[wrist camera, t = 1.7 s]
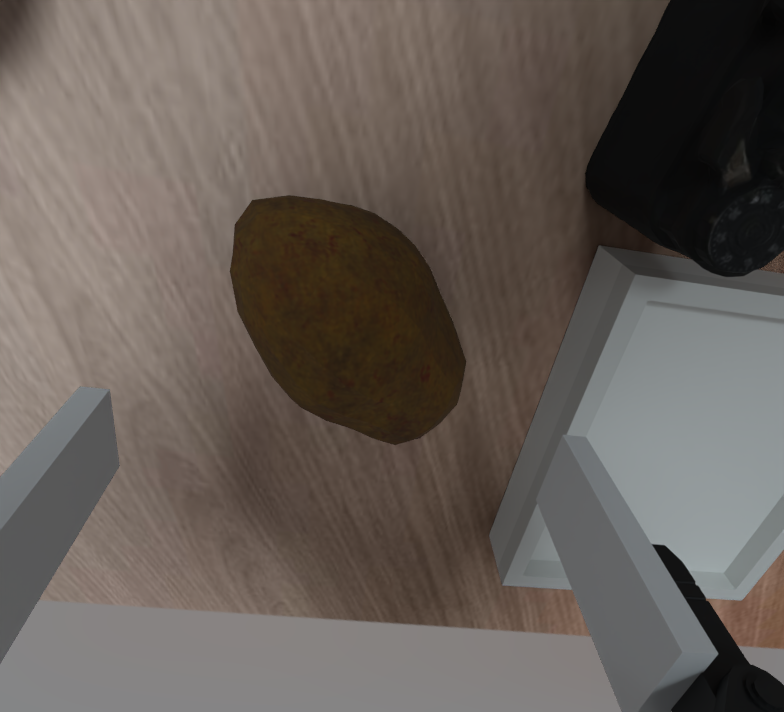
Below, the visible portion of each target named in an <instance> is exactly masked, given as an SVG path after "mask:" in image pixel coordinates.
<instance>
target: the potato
mask: <svg viewBox="0 0 784 712" xmlns="http://www.w3.org/2000/svg"><path fill="white" fill-rule="evenodd" d="M230 274H231V279H232V284H233V289H234V295H235V300H236V305H237V310H238V313H239V315H240V317H241V319H242V321H243V323H244V325H245V327H246V329H247V331H248V333H249V335H250V337H251V339H252V341H253V343H254V345H255V347H256V349H257V351H258V353H259V354H260V356H261V358H262V360H263V361H264V363H265V365H266V367H267V369H268V370H269V372H270V374H271V376H272V377H273V378H274V379H275V381H276V382H277V383H278V384H279V385H280V386H281V388H282V389H283V390H284V391H285V392H286V393H287V394H288V396H289V397H290V398H291V399H292V400H293V401H294V402H295V403H297V404H298V405H299V406H300V407H301V408H303V409H305V410H307V411H309V412H311V413H313V414H315V415H317V416H318V417H320V418H322V419H324V420H326V421H329V422H332V423H336V424H339V425H342V426H345V427H348V428H351V429H354V430H356V431H358V432H361V433H363V434H365V435H367V436H369V437H371V438H374V439H377V440H380V441H384V442H387V443H390V444H394V445H397V444H400V443H404V442H407V441H411V440H414V439H418V438H420V437H422V436H423V435H425V434H426V433H427V432H429V431H430V430H431V429H433V428H434V427H435V426H437V425H438V424H439V423H441V421H442V420H443V419H444V418H445V417H446V416H447V415H448V414H449V413H450V411H451V410H452V409H453V408H454V407H455V406H456V405H457V402H458V399H459V396H460V392H461V387H462V381H463V376H464V371H465V366H466V360H465V357H464V354H463V351H462V348H461V345H460V342H459V339H458V336H457V333H456V330H455V327H454V324H453V321H452V319H451V317H450V315H449V312H448V310H447V308H446V306H445V303H444V301H443V299H442V297H441V294H440V292H439V289H438V287H437V284H436V282H435V279H434V277H433V274H432V272H431V269H430V267H429V266H428V264H427V263H426V261H425V260H424V258H423V257H422V255H421V254H420V252H419V251H418V249H417V248H416V246H415V245H414V244H413V243H412V242H411V241H410V240H409V239H408V238H407V237H406V236H405V235H403V234H402V233H401V232H400V231H399V230H398V229H397V228H396V227H394V226H393V225H391V224H390V223H388V222H387V221H385V220H384V219H382V218H381V217H379V216H378V215H376V214H375V213H372V212H369V211H366V210H363V209H360V208H357V207H355V206H352V205H346V204H340V203H335V202H330V201H326V200H321V199H313V198H305V197H297V196H282V197H274V198H266V199H258V200H252V201H251V203H250V204H249V206H248V207H247V208H246V210H245V211H244V213H243V214H242V215H241V217H240V218H239V220H238V221H237V223H236V224H235V231H234V245H233V256H232V262H231V268H230Z"/></svg>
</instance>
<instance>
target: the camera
mask: <svg viewBox="0 0 784 712" xmlns="http://www.w3.org/2000/svg"><path fill="white" fill-rule="evenodd" d="M585 174H586V187H587V188H588V190H589V192H590V194H591V196H592V198H593V199H594V200H595V201H596V202H597V203H598V204H599V205H601V206H602V207H603V208H605V209H607V210H608V211H609V212H611V213H612V214H614V215H615V216H617V217H618V218H619V219H621V220H623V221H625V222H626V223H628V224H629V225H630V226H631V227H633V228H635V229H636V230H638V231H639V232H641V233H642V234H643V235H645V236H646V237H648V238H649V239H651V240H652V241H654V242H655V243H657V244H659V245H661V246H663V247H665V248H668V249H671V250H674V251H676V252H679V253H681V254H683V255H685V256H687V257H689V258H691V259H692V260H693V261H694V262H696V263H697V264H698V265H699V266H700V267H702V268H703V269H705V270H707V271H709V272H710V273H713V274H717V275H720V276H723V277H741V276H745V275H747V274H749V273H751V272H752V271H754V270H757V269H759V268H762V267H764V266H765V265H767V264H768V263H769V262H770V261H772V260H773V259H774V258H775V257H776V256H778V255H779V254H780V253H781V252H782V251H784V0H670V2H669V4H668V6H667V8H666V10H665V12H664V14H663V16H662V18H661V21H660V23H659V25H658V27H657V29H656V32H655V34H654V36H653V37H652V39H651V41H650V43H649V45H648V47H647V49H646V50H645V52H644V54H643V56H642V58H641V60H640V61H639V63H638V65H637V67H636V70H635V72H634V74H633V76H632V78H631V80H630V82H629V84H628V86H627V88H626V90H625V92H624V94H623V96H622V98H621V100H620V102H619V104H618V106H617V108H616V110H615V111H614V113H613V115H612V116H611V118H610V121H609V123H608V125H607V127H606V129H605V131H604V132H603V134H602V136H601V138H600V140H599V142H598V144H597V146H596V148H595V150H594V152H593V154H592V156H591V159H590V161H589V163H588V165H587V169H586V173H585Z"/></svg>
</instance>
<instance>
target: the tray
mask: <svg viewBox="0 0 784 712" xmlns="http://www.w3.org/2000/svg"><path fill="white" fill-rule="evenodd" d="M562 435H571V436H581V437H586V438H587V439H588V441H589V442H590V444H591V446H592V447H593V449H594V451H595V452H596V454H597V456H598V457H599V459H600V460H601V462H602V464H603V465H604V467H605V469H606V470H607V472H608V474H609V475H610V477H611V479H612V480H613V482H614V483H615V485H616V487H617V488H618V490H619V492H620V493H621V495H622V497H623V498H624V500H625V501H626V503H627V505H628V506H629V508H630V510H631V511H632V513H633V515H634V516H635V518H636V519H637V521H638V523H639V524H640V526H641V528H642V529H643V531H644V533H645V534H646V536H647V537H648V539H649V541H650V542H651V544H658V545H665V546H666V547H667V548H669V549H670V550H671V551H672V552H673V553H674V554H675V555H676V556H677V557H678V558H679V559H680V560H681V561H682V562H683V563H684V565H685V566H686V568H687V569H688V571H689V572H690V574H691V575H692V577H693V578H694V580H695V581H696V582H695V584H696V585H698V586H699V588H700V589H701V591H702V592H703V594H704V595H705V597H706V598H711V599H727V600H743V598H744V597H745V596H746V595H747V594H748V592H749V591H750V590H751V589H752V587H753V586H754V585H755V584H756V583H757V581H758V580H759V579H760V578H761V577H762V575H763V574H764V573H765V572H766V570H767V569H768V568H769V567H770V566H771V564H772V563H773V562H774V561H775V559H776V558H777V557H778V556H779V555H780V553H781V552H782V551H783V550H784V274H783V273H777V272H770V271H764V270H754V271H752V272H751V273H749V274H747V275H745V276H741V277H723V276H720V275H717V274H713V273H710V272H709V271H707V270H705V269H703V268H702V267H700V266H699V265H698V264H697V263H696V262H694V261H693V260H692V259H685V258H679V257H672V256H666V255H659V254H652V253H646V252H639V251H633V250H626V249H620V248H613V247H607V246H600V245H599V246H598V249H597V252H596V254H595V257H594V260H593V262H592V265H591V267H590V270H589V273H588V275H587V278H586V281H585V283H584V286H583V289H582V291H581V294H580V296H579V299H578V302H577V304H576V307H575V310H574V312H573V315H572V318H571V320H570V323H569V325H568V328H567V331H566V333H565V336H564V339H563V341H562V344H561V347H560V349H559V352H558V354H557V357H556V360H555V362H554V365H553V368H552V370H551V373H550V376H549V378H548V381H547V383H546V386H545V389H544V391H543V394H542V397H541V399H540V402H539V405H538V407H537V410H536V412H535V415H534V418H533V420H532V423H531V426H530V428H529V431H528V434H527V436H526V439H525V441H524V444H523V447H522V449H521V452H520V455H519V457H518V460H517V463H516V465H515V468H514V470H513V473H512V476H511V478H510V481H509V484H508V486H507V489H506V492H505V494H504V497H503V499H502V502H501V505H500V507H499V510H498V513H497V515H496V518H495V521H494V523H493V526H492V528H491V531H490V534H489V538H490V541H491V545H492V549H493V553H494V557H495V560H496V564H497V568H498V572H499V576H500V580H501V583H502V585H504V586H520V587H536V588H552V589H568V590H572V588H571V585H570V583H569V581H568V578H567V576H566V573H565V571H564V568H563V566H562V563H561V561H560V558H559V556H558V553H557V551H556V548H555V546H554V544H553V541H552V539H551V536H550V534H549V531H548V529H547V526H546V524H545V521H544V519H543V516H542V514H541V511H540V509H539V507H538V504H537V502H536V498H537V496H538V493H539V491H540V488H541V486H542V484H543V481H544V479H545V476H546V474H547V472H548V469H549V467H550V464H551V462H552V459H553V457H554V455H555V452H556V450H557V447H558V445H559V442H560V440H561V438H562Z"/></svg>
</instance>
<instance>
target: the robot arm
mask: <svg viewBox="0 0 784 712" xmlns="http://www.w3.org/2000/svg"><path fill="white" fill-rule="evenodd" d="M119 466H120V465H119V458H118V450H117V442H116V434H115V427H114V419H113V411H112V404H111V396H110V389H100V388H90V387H79V388H78V389H77V390H76V391H75V393H74V394H73V395H72V396H71V397H70V398H69V399H68V400H67V402H66V403H65V404H64V405H63V406H62V407H61V408H60V410H59V411H58V412H57V413H56V414H55V415H54V416H53V418H52V419H51V420H50V421H49V422H48V423H47V424H46V426H45V427H44V428H43V429H42V430H41V431H40V432H39V434H38V435H37V436H36V437H35V438H34V439H33V440H32V442H31V443H30V444H29V445H28V446H27V447H26V448H25V450H24V451H23V452H22V453H21V454H20V455H19V456H18V458H17V459H16V460H15V461H14V462H13V463H12V464H11V465H10V467H9V468H8V469H7V470H6V471H5V472H4V473H3V475H2V476H1V477H0V663H1V662H2V660H3V658H4V657H5V655H6V653H7V652H8V650H9V648H10V647H11V645H12V643H13V641H14V640H15V638H16V637H17V635H18V633H19V631H20V630H21V628H22V627H23V625H24V623H25V622H26V620H27V618H28V617H29V615H30V614H31V612H32V610H33V609H34V607H35V605H36V604H37V602H38V600H39V599H40V597H41V595H42V594H43V592H44V590H45V589H46V587H47V585H48V584H49V582H50V580H51V579H52V577H53V575H54V574H55V572H56V570H57V569H58V567H59V565H60V564H61V562H62V560H63V559H64V557H65V555H66V554H67V552H68V550H69V549H70V547H71V546H72V544H73V542H74V541H75V539H76V537H77V536H78V534H79V532H80V531H81V529H82V527H83V526H84V524H85V522H86V521H87V519H88V517H89V516H90V514H91V512H92V511H93V509H94V507H95V506H96V504H97V502H98V501H99V499H100V497H101V496H102V494H103V492H104V491H105V489H106V487H107V486H108V484H109V482H110V481H111V479H112V478H113V476H114V474H115V473H116V471H117V469H118V468H119ZM536 502H537V504H538V507H539V509H540V511H541V514H542V516H543V519H544V521H545V524H546V526H547V529H548V531H549V534H550V536H551V539H552V541H553V544H554V546H555V548H556V551H557V553H558V556H559V558H560V561H561V563H562V566H563V568H564V571H565V573H566V576H567V578H568V581H569V583H570V585H571V588H572V590H573V593H574V595H575V598H576V600H577V603H578V605H579V608H580V610H581V613H582V615H583V617H584V620H585V622H586V625H587V627H588V630H589V632H590V635H591V637H592V640H593V642H594V645H595V647H596V650H597V652H598V654H599V657H600V659H601V662H602V664H603V667H604V669H605V672H606V674H607V677H608V679H609V682H610V684H611V687H612V689H613V691H614V694H615V696H616V699H617V701H618V704H619V706H620V708H621V711H622V712H671V711H672V712H784V685H783V684H782V683H781V682H780V681H778V680H777V679H776V678H774V677H773V676H772V675H771V674H769V673H768V672H766V671H764V670H762V669H760V668H758V667H756V666H754V665H750V664H749V662H748V661H747V660H746V658H745V657H744V655H743V654H742V652H741V651H740V649H739V647H738V646H737V644H736V643H735V641H734V640H733V638H732V637H731V635H730V634H729V632H728V631H727V629H726V627H725V626H724V624H723V623H722V621H721V620H720V618H719V617H718V615H717V614H716V612H715V611H714V609H713V608H712V606H711V604H710V603H709V601H706V597H705V595H704V594H703V592H702V591H701V589H700V588H699V586H698V585H696V584H695V582H696V581H695V580H694V578H693V577H692V575H691V574H690V572H689V571H688V569H687V568H686V566H685V565H684V563H683V562H682V561H681V560H680V559H679V558H678V557H677V556H676V555H675V554H674V553H673V552H672V551H671V550H670V549H669V548H667V547H666V546H665V545H658V544H651V542H650V541H649V539H648V537H647V536H646V534H645V533H644V531H643V529H642V528H641V526H640V524H639V523H638V521H637V519H636V518H635V516H634V515H633V513H632V511H631V510H630V508H629V506H628V505H627V503H626V501H625V500H624V498H623V497H622V495H621V493H620V492H619V490H618V488H617V487H616V485H615V483H614V482H613V480H612V479H611V477H610V475H609V474H608V472H607V470H606V469H605V467H604V465H603V464H602V462H601V460H600V459H599V457H598V456H597V454H596V452H595V451H594V449H593V447H592V446H591V444H590V442H589V441H588V439H587V438H586V437H581V436H571V435H562V438H561V440H560V442H559V445H558V447H557V450H556V452H555V455H554V457H553V459H552V462H551V464H550V467H549V469H548V472H547V474H546V476H545V479H544V481H543V484H542V486H541V488H540V491H539V493H538V496H537V498H536Z"/></svg>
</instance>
